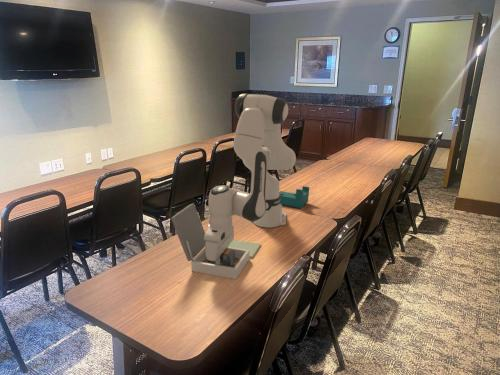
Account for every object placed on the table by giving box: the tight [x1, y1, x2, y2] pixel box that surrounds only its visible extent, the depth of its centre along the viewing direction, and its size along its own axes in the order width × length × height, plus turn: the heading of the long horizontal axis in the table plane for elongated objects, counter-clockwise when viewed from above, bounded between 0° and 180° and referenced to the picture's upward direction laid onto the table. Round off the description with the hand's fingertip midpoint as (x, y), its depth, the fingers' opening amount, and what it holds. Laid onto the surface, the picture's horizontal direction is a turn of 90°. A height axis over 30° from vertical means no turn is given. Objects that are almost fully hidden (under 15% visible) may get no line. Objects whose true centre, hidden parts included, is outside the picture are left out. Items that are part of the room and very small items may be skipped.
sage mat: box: [228, 239, 262, 259], centre depth 154 cm, size 12×20×1 cm, turn 72°
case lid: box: [170, 202, 206, 262], centre depth 140 cm, size 16×18×2 cm
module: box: [206, 249, 236, 268], centre depth 139 cm, size 4×10×6 cm, turn 67°
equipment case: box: [186, 241, 250, 280], centre depth 139 cm, size 16×20×12 cm
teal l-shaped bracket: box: [279, 185, 310, 209], centre depth 207 cm, size 18×11×10 cm, turn 59°
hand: (221, 260), depth 140 cm, fingers closed on module, 5 cm apart
